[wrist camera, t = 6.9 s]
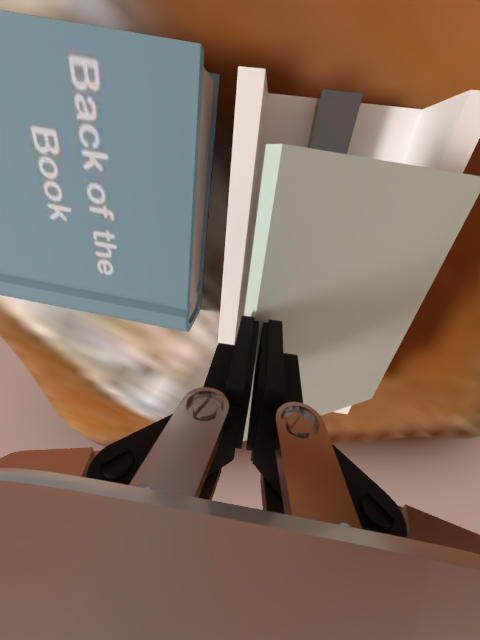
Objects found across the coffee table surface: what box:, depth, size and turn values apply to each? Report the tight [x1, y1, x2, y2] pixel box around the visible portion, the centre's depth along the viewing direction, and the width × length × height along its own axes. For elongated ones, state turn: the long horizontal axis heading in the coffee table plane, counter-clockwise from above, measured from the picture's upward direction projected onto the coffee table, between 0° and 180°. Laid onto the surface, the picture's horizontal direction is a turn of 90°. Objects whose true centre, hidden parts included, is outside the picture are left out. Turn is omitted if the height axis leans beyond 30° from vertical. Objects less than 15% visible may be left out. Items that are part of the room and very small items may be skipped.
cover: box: [243, 144, 480, 441], centre depth 13 cm, size 14×11×1 cm
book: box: [0, 10, 220, 332], centre depth 18 cm, size 23×16×5 cm
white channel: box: [218, 66, 480, 414], centre depth 18 cm, size 20×11×5 cm, turn 174°
